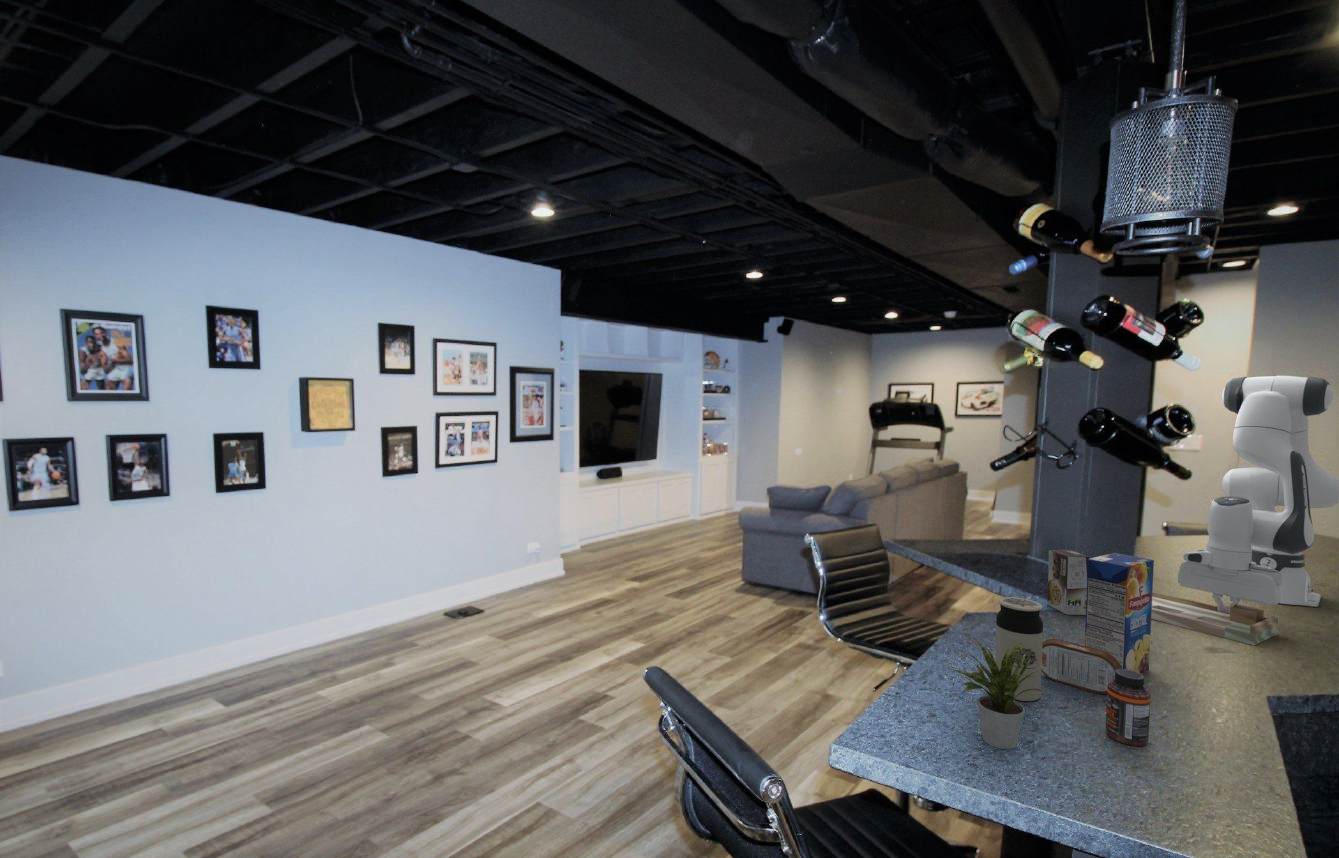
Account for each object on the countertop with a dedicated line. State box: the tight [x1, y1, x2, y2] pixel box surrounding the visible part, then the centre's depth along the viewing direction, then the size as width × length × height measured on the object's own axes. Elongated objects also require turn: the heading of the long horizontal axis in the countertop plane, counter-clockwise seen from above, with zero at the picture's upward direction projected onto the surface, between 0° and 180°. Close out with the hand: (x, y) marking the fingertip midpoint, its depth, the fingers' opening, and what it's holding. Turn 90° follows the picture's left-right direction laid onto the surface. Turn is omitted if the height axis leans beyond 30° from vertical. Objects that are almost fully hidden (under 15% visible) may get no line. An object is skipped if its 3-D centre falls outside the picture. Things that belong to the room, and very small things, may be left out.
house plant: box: [952, 638, 1046, 750], centre depth 106 cm, size 14×14×16 cm
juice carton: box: [1084, 552, 1155, 675], centre depth 134 cm, size 12×8×24 cm, turn 122°
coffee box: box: [1047, 549, 1092, 616], centre depth 174 cm, size 9×6×16 cm
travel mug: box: [994, 596, 1044, 702], centre depth 122 cm, size 8×8×18 cm
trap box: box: [1151, 591, 1279, 646], centre depth 166 cm, size 15×29×4 cm, turn 30°
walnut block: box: [1230, 603, 1265, 626], centre depth 158 cm, size 5×5×4 cm
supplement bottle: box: [1105, 669, 1151, 747], centre depth 106 cm, size 6×6×11 cm
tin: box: [1041, 638, 1122, 695], centre depth 126 cm, size 15×3×8 cm, turn 44°
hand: (1225, 612), depth 162 cm, fingers closed
